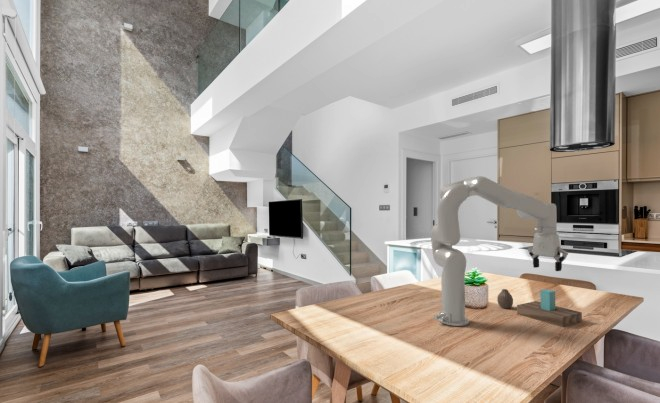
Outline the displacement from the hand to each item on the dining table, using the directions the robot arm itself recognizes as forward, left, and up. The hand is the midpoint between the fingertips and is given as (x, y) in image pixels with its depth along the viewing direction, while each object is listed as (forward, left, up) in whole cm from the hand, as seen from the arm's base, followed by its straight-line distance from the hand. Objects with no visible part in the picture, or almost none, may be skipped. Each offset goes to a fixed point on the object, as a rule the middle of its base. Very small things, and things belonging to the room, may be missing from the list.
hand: (546, 269), depth 153 cm
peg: (0, 0, -22) cm, 22 cm away
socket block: (0, 0, -22) cm, 22 cm away
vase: (-3, +19, -22) cm, 29 cm away
